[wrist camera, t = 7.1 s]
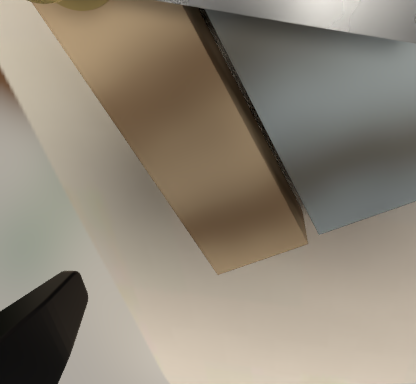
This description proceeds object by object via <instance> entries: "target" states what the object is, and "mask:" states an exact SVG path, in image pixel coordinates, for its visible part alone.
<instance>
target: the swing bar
mask: <svg viewBox="0 0 416 384" xmlns="http://www.w3.org/2000/svg"><path fill="white" fill-rule="evenodd" d="M28 1H30V2H34V3H39V4H51V3H56V2H60V1H62V0H28ZM156 1H162V2H168V3H174V4H180V5H186V6H192V7H198V8H204V9H210V10H216V11H223V12H229V13H235V14H241V15H247V16H253V17H259V18H265V19H271V20H277V21H283V22H289V23H295V24H301V25H307V26H313V27H319V28H325V29H331V30H337V31H343V32H349V33H355V34H361V35H367V36H373V37H379V38H385V39H391V40H397V41H403V42H409V43H415V44H416V0H156Z"/></svg>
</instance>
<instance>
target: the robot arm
mask: <svg viewBox="0 0 416 384" xmlns="http://www.w3.org/2000/svg"><path fill="white" fill-rule="evenodd" d="M87 302H88V293H87V290H86V288H85V285H84V283H83V280H82V277H81V275H80V273H78V272H77V271H63V272H61V273H59V274H58V275H56V276H54V277H53V278H51V279H50V280H48V281H47V282H45V283H44V284H42V285H41V286H39V287H38V288H36V289H34V290H33V291H31V292H30V293H28V294H27V295H25V296H23V297H22V298H20V299H19V300H17V301H16V302H14V303H13V304H11V305H10V306H8V307H6V308H5V309H4V310H2V311H0V384H58V382H59V380H60V378H61V375H62V373H63V371H64V368H65V366H66V364H67V361H68V359H69V357H70V354H71V351H72V348H73V345H74V342H75V339H76V336H77V333H78V330H79V327H80V324H81V321H82V318H83V315H84V311H85V308H86V305H87Z"/></svg>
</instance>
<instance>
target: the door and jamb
mask: <svg viewBox="0 0 416 384" xmlns="http://www.w3.org/2000/svg"><path fill="white" fill-rule="evenodd" d="M32 3H33V5H34V6H35V8H36V9H37V11H38V12H39V13H40V15H41V16H42V18H43V19H44V21H45V22H46V24H47V25H48V27H49V28H50V30H51V31H52V33H53V34H54V35H55V37H56V38H57V40H58V41H59V43H60V44H61V46H62V47H63V49H64V50H65V52H66V53H67V55H68V56H69V57H70V59H71V60H72V62H73V63H74V65H75V66H76V68H77V69H78V71H79V72H80V74H81V75H82V77H83V78H84V79H85V81H86V82H87V84H88V85H89V87H90V88H91V90H92V91H93V93H94V94H95V96H96V97H97V99H98V100H99V101H100V103H101V104H102V106H103V107H104V109H105V110H106V112H107V113H108V115H109V116H110V118H111V119H112V121H113V122H114V123H115V125H116V126H117V128H118V129H119V131H120V132H121V134H122V135H123V137H124V138H125V140H126V141H127V143H128V144H129V145H130V147H131V148H132V150H133V151H134V153H135V154H136V156H137V157H138V159H139V160H140V162H141V163H142V165H143V166H144V167H145V169H146V170H147V172H148V173H149V175H150V176H151V178H152V179H153V181H154V182H155V184H156V185H157V187H158V188H159V189H160V191H161V192H162V194H163V195H164V197H165V198H166V200H167V201H168V203H169V204H170V206H171V207H172V209H173V210H174V211H175V213H176V214H177V216H178V217H179V219H180V220H181V222H182V223H183V225H184V226H185V228H186V229H187V231H188V232H189V233H190V235H191V236H192V238H193V239H194V241H195V242H196V244H197V245H198V247H199V248H200V250H201V251H202V253H203V254H204V255H205V257H206V258H207V260H208V261H209V263H210V264H211V266H212V267H213V269H214V270H215V272H216V273H217V275H219V274H222V273H225V272H228V271H231V270H234V269H236V268H239V267H242V266H245V265H248V264H251V263H254V262H257V261H260V260H263V259H266V258H269V257H271V256H274V255H277V254H280V253H283V252H286V251H289V250H292V249H295V248H298V247H301V246H303V245H306V244H308V241H307V235H306V229H305V224H304V218H303V212H302V210H301V208H300V206H299V204H298V202H297V200H296V198H295V196H294V194H293V192H292V190H291V188H290V186H289V184H288V182H287V180H286V178H285V176H284V175H283V173H282V171H281V169H280V167H279V165H278V163H277V161H276V159H275V157H274V155H273V153H272V151H271V149H270V147H269V145H268V143H267V141H266V139H265V138H264V136H263V134H262V132H261V130H260V128H259V126H258V124H257V122H256V120H255V118H254V116H253V114H252V112H251V110H250V108H249V106H248V104H247V102H246V101H245V99H244V97H243V95H242V93H241V91H240V89H239V87H238V85H237V83H236V81H235V79H234V77H233V75H232V73H231V71H230V69H229V67H228V65H227V64H226V62H225V60H224V58H223V56H222V54H221V52H220V50H219V48H218V46H217V44H216V42H215V40H214V38H213V36H212V34H211V32H210V30H209V28H208V27H207V25H206V23H205V21H204V19H203V17H202V15H201V13H200V11H199V9H198V7H192V6H186V5H180V4H174V3H168V2H162V1H156V0H62V1H60V2H56V3H51V4H39V3H34V2H32ZM205 11H206V13H207V15H208V17H209V19H210V21H211V23H212V25H213V27H214V29H215V31H216V33H217V35H218V37H219V39H220V41H221V43H222V45H223V47H224V49H225V50H226V52H227V54H228V56H229V58H230V60H231V62H232V64H233V66H234V68H235V70H236V72H237V74H238V76H239V78H240V80H241V82H242V84H243V86H244V88H245V90H246V92H247V94H248V96H249V98H250V100H251V102H252V104H253V106H254V108H255V110H256V112H257V114H258V116H259V118H260V119H261V121H262V123H263V125H264V127H265V129H266V131H267V133H268V135H269V137H270V139H271V141H272V143H273V145H274V147H275V149H276V151H277V153H278V155H279V157H280V159H281V161H282V163H283V165H284V167H285V169H286V171H287V173H288V175H289V177H290V179H291V181H292V183H293V185H294V187H295V188H296V190H297V192H298V194H299V196H300V198H301V200H302V202H303V204H304V206H305V208H306V210H307V212H308V214H309V216H310V218H311V220H312V222H313V224H314V226H315V228H316V230H317V232H318V234H319V235H320V234H323V233H326V232H329V231H332V230H334V229H337V228H340V227H343V226H346V225H349V224H352V223H355V222H357V221H360V220H363V219H366V218H369V217H372V216H375V215H377V214H380V213H383V212H386V211H389V210H392V209H395V208H398V207H400V206H403V205H406V204H409V203H412V202H415V201H416V44H415V43H409V42H403V41H397V40H391V39H385V38H379V37H373V36H367V35H361V34H355V33H349V32H343V31H337V30H331V29H325V28H319V27H313V26H307V25H301V24H295V23H289V22H283V21H277V20H271V19H265V18H259V17H253V16H247V15H241V14H235V13H229V12H223V11H216V10H210V9H205Z"/></svg>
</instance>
